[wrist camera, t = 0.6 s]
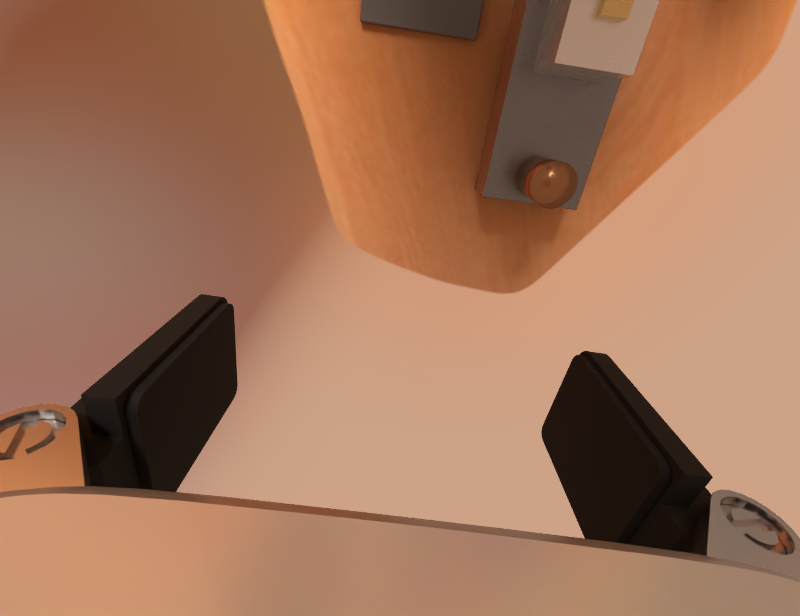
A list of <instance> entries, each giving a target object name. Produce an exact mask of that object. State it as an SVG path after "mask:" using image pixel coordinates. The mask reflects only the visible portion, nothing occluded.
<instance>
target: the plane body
mask: <svg viewBox="0 0 800 616" xmlns="http://www.w3.org/2000/svg"><path fill="white" fill-rule="evenodd" d="M549 3H550V0H516V1H515V5H514V10H513V15H512V19H511V24H510V28H509V33H508V37H507V42H506V47H505V51H504V56H503V60H502V65H501V70H500V74H499V79H498V83H497V88H496V93H495V97H494V102H493V106H492V111H491V115H490V120H489V125H488V129H487V134H486V138H485V143H484V148H483V152H482V157H481V161H480V166H479V171H478V175H477V180H476V184H475V190H476V191H477V192H479V193H480V194H481V195H482V196H484V197H491V198H498V199H505V200H511V201H518V202H525V203H532V204H539V205H540V206H542V207H545V208H557V207H560V208H567V209H574V210H576V209H577V206H578V203H579V201H580V198H581V195H582V192H583V189H584V186H585V183H586V180H587V177H588V174H589V172H590V169H591V166H592V163H593V160H594V157H595V154H596V151H597V148H598V145H599V143H600V140H601V137H602V134H603V131H604V128H605V125H606V122H607V119H608V116H609V114H610V111H611V108H612V105H613V102H614V99H615V96H616V93H617V90H618V87H619V85H620V82H621V79H622V78H619V79H615V80H610V81H605V82H600V83H598V82H591V81H585V80H579V79H573V78H567V77H560V76H554V75H548V74H542V73H536V72H532V70H533V66H534V62H535V58H536V54H537V50H538V46H539V42H540V39H541V35H542V31H543V27H544V23H545V19H546V15H547V11H548V7H549Z"/></svg>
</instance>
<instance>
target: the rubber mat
mask: <svg viewBox="0 0 800 616" xmlns="http://www.w3.org/2000/svg"><path fill="white" fill-rule="evenodd" d="M482 3H483V0H362V3H361V18H360V21H361V22H365V23H371V24H377V25H383V26H389V27H395V28H401V29H407V30H413V31H420V32H426V33H432V34H438V35H444V36H450V37H456V38H462V39H468V40H474V41H475V40H476V35H477V30H478V25H479V19H480V14H481V9H482Z"/></svg>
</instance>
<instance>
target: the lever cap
mask: <svg viewBox="0 0 800 616" xmlns="http://www.w3.org/2000/svg"><path fill="white" fill-rule="evenodd" d="M659 1H660V0H550V3H549V7H548V11H547V15H546V19H545V23H544V27H543V31H542V35H541V39H540V42H539V46H538V50H537V54H536V58H535V62H534V66H533V70H532V72H536V73H542V74H548V75H554V76H560V77H567V78H573V79H579V80H585V81H591V82H598V83H600V82H605V81H610V80H615V79H619V78H624V77H629V76H633V74H634V71H635V69H636V66H637V63H638V60H639V57H640V54H641V52H642V49H643V46H644V43H645V40H646V38H647V35H648V32H649V29H650V26H651V24H652V21H653V18H654V15H655V12H656V9H657V7H658V4H659Z"/></svg>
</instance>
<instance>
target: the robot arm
mask: <svg viewBox="0 0 800 616" xmlns="http://www.w3.org/2000/svg"><path fill="white" fill-rule="evenodd" d="M236 369H237V368H236V346H235V325H234V308H233V305H232V304H228V303H227V300H226V299H225V298H224V297H217V296H210V295H203V294H201V295H199V296H198V297H197V298H195V299H194V300H193V301H192V302H191V303H189V304H188V305H187V306H186V307H185V308H184V309H182V310H181V311H180V312H179V313H178V314H176V315H175V316H174V317H173V318H172V319H171V320H169V322H167V323H166V324H165V325H163V326H162V327H161V328H160V329H159V330H157V331H156V332H155V333H154V334H153V335H152V336H150V337H149V338H148V339H147V340H146V341H145V342H143V343H142V344H141V345H140V346H139V347H137V348H136V349H135V350H134V351H133V352H131V354H129V355H128V356H127V357H126V358H124V359H123V360H122V361H121V362H120V363H118V364H117V365H116V366H115V367H114V368H112V370H110V371H109V372H108V373H107V374H105V375H104V376H103V377H102V378H101V379H99V380H98V381H97V382H96V383H95V384H93V385H92V386H91V387H90V388H89V389H88V390H86V391H85V392H84V393H83V394H82V395H81V397H82V398H81V399H80V400H79V401H78V402H77V403H75V404H74V405H73V406H72V407H71V408H69V407H67V406H63V405H59V404H38V405H32V406H26V407H22V408H19V409H16V410H12V411H9V412H6V413H4V414H2V415H0V616H800V538H799V537H798V536H797V534H796V533H795V532H794V531H793V530H792V528H790V527H789V526H788V525H787V524H786V523H785V522H784V521H783V520H782V519H781V518H780V517H778V516H777V515H776V514H775V513H773V512H772V511H771V510H769V509H768V508H767V507H765V506H763V505H762V504H760V503H758V502H757V501H755V500H753V499H751V498H749V497H747V496H745V495H743V494H740V493H737V492H733V491H730V490H718V491H716V492H713V494H712V495H711V494H710V493H709V491H708V490H707V489H706V488H705V486H706V485H707V484H708V483H709V481H710V480H711V479H712V476H711V475H710V473H709V472H708V471H707V470H706V469H705V468H704V467H703V465H702V464H701V463H700V462H699V461H698V459H697V458H696V457H695V456H694V455H693V454H692V453H691V451H690V450H689V449H688V448H687V447H686V446H685V444H684V443H683V442H682V441H681V440H680V438H679V437H678V436H677V435H676V434H675V433H674V432H673V430H672V429H671V428H670V427H669V426H668V425H667V423H666V422H665V421H664V420H663V419H662V418H661V416H660V415H659V414H658V413H657V412H656V411H655V409H654V408H653V407H652V406H651V405H650V404H649V402H648V401H647V400H646V399H645V398H644V397H643V396H642V394H641V393H640V392H639V391H638V390H637V388H636V387H635V386H634V385H633V384H632V383H631V381H630V380H629V379H628V378H627V377H626V376H625V375H624V373H623V372H622V371H621V370H620V369H619V368H618V366H617V365H616V364H615V363H614V362H613V361H612V359H611V358H610V357H609V356H608V355H607V354H602V353H595V352H589V351H584V352H582V353H581V354H580V355H576V356H575V357H574V358H573V359H572V362H571V364H570V366H569V368H568V371H567V373H566V375H565V377H564V379H563V382H562V384H561V386H560V388H559V391H558V393H557V395H556V398H555V400H554V402H553V404H552V406H551V409H550V411H549V413H548V415H547V417H546V420H545V422H544V424H543V427H542V439H543V441H544V444H545V446H546V449H547V451H548V453H549V455H550V458H551V460H552V463H553V465H554V467H555V470H556V472H557V474H558V477H559V479H560V481H561V484H562V486H563V488H564V491H565V493H566V495H567V498H568V500H569V502H570V505H571V507H572V509H573V512H574V514H575V516H576V519H577V521H578V523H579V526H580V528H581V530H582V533H583V535H584V537H585V539H582V538H574V537H566V536H558V535H550V534H542V533H534V532H525V531H518V530H510V529H501V528H493V527H484V526H476V525H467V524H459V523H451V522H442V521H434V520H425V519H416V518H408V517H399V516H390V515H382V514H374V513H365V512H357V511H348V510H339V509H330V508H321V507H311V506H302V505H294V504H284V503H276V502H267V501H258V500H249V499H240V498H231V497H222V496H211V495H200V494H190V493H179V492H176V491H177V489H178V487H179V486H180V484H181V483H182V481H183V479H184V478H185V476H186V474H187V473H188V471H189V470H190V468H191V467H192V465H193V463H194V462H195V460H196V459H197V457H198V455H199V454H200V452H201V450H202V449H203V447H204V446H205V444H206V442H207V441H208V439H209V437H210V436H211V434H212V433H213V431H214V429H215V428H216V426H217V425H218V423H219V421H220V420H221V418H222V417H223V415H224V413H225V412H226V410H227V408H228V407H229V405H230V404H231V402H232V400H233V399H234V397H235V394H236V391H237V370H236Z"/></svg>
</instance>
